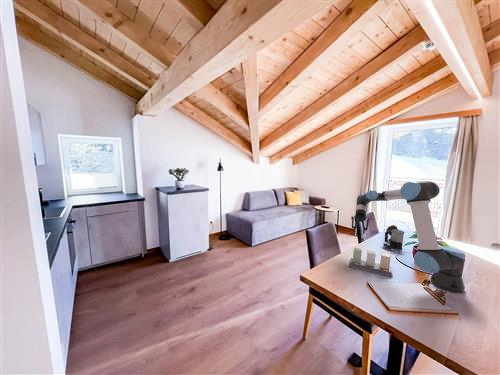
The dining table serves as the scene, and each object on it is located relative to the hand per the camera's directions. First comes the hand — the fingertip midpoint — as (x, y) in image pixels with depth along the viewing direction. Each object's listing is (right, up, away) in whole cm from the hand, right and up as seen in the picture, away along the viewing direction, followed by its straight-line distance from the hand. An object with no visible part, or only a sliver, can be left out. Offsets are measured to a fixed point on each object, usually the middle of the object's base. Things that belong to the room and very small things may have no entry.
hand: (358, 236), depth 160 cm
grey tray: (+1, -18, -14) cm, 23 cm away
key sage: (-6, -16, -9) cm, 19 cm away
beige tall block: (+9, -17, -17) cm, 25 cm away
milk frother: (+40, -15, +20) cm, 47 cm away
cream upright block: (+1, -16, -13) cm, 21 cm away
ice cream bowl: (+51, -12, +38) cm, 65 cm away
